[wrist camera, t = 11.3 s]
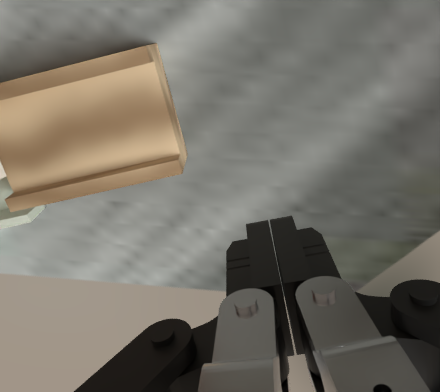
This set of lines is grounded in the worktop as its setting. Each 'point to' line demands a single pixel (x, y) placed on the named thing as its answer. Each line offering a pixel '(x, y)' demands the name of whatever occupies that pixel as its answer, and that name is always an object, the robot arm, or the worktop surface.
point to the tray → (5, 218)
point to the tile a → (2, 172)
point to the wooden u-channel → (89, 128)
